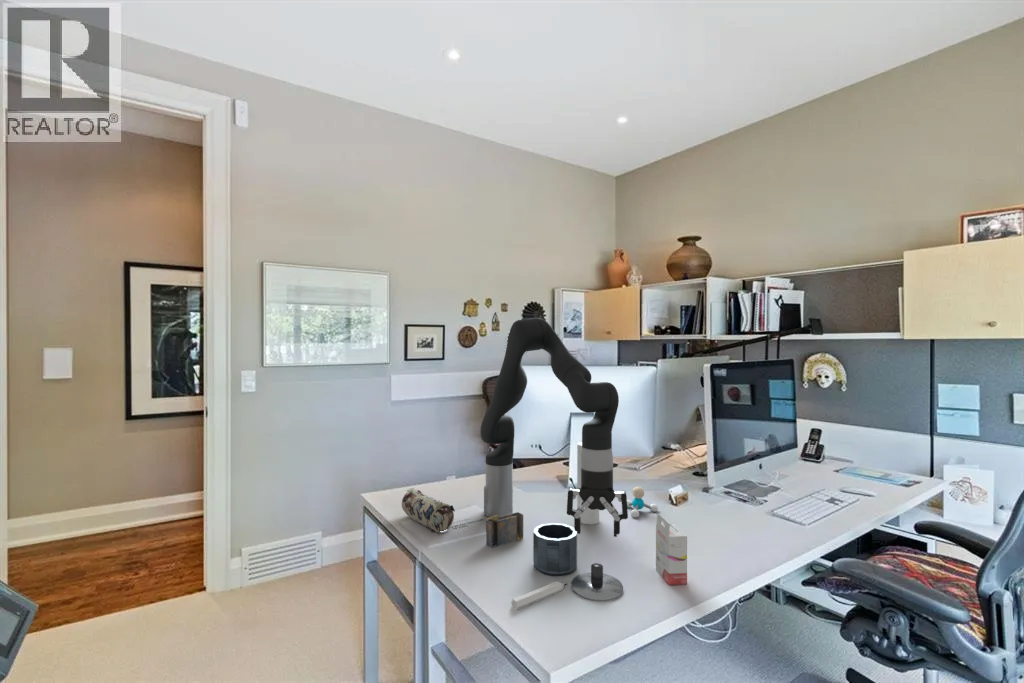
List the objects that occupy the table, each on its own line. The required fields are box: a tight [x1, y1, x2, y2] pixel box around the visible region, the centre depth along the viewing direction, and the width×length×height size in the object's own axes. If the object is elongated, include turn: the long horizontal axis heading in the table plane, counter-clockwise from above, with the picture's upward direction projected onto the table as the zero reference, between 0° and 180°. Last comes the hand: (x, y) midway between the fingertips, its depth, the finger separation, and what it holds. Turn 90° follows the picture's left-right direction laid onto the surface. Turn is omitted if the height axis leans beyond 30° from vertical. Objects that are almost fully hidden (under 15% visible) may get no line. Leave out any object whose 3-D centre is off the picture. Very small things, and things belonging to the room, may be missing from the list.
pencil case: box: [401, 487, 456, 533], centre depth 155 cm, size 22×8×10 cm, turn 40°
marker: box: [510, 581, 568, 611], centre depth 111 cm, size 3×2×16 cm
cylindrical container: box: [576, 441, 600, 525], centre depth 158 cm, size 7×7×25 cm
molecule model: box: [627, 486, 659, 519], centre depth 167 cm, size 12×12×9 cm
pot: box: [532, 522, 578, 577], centre depth 126 cm, size 11×14×9 cm
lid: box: [570, 562, 624, 602], centre depth 115 cm, size 12×12×6 cm
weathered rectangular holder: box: [485, 511, 524, 549], centre depth 141 cm, size 11×3×10 cm, turn 125°
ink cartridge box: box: [655, 512, 688, 586], centre depth 120 cm, size 9×5×15 cm, turn 5°
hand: (597, 534), depth 115 cm, fingers open, 8 cm apart
